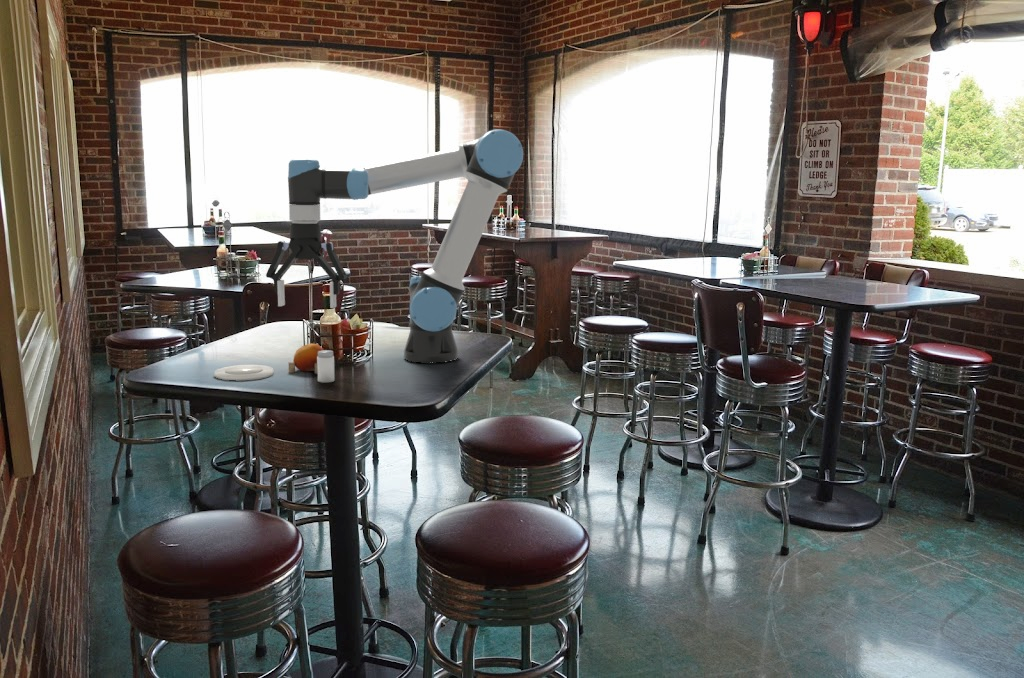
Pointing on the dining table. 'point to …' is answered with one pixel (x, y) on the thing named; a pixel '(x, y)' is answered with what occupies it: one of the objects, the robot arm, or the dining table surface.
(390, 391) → the dining table surface
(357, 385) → the dining table surface
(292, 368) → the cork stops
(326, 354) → the salt shaker
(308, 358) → the fruit
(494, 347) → the dining table surface
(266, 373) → the saucer
